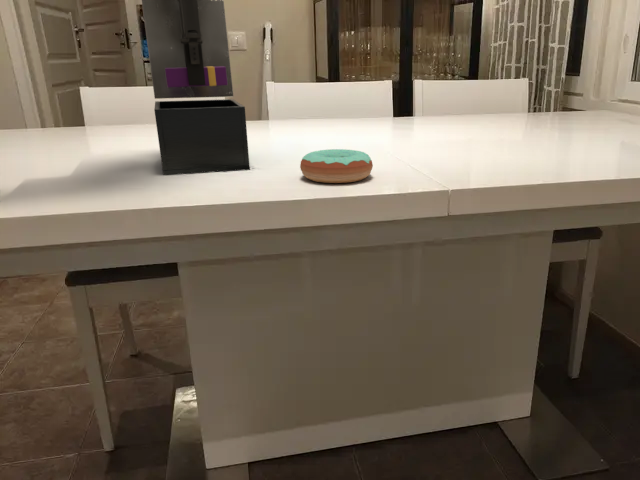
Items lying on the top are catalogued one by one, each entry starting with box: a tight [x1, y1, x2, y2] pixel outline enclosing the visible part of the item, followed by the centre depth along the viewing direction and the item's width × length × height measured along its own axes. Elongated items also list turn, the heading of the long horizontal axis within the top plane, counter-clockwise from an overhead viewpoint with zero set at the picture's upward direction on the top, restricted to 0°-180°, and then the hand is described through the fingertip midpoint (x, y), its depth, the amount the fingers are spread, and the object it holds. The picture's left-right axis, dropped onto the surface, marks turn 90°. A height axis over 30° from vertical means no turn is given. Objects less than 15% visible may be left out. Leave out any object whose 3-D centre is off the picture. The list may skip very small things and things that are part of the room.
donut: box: [299, 148, 374, 184], centre depth 92 cm, size 12×12×4 cm
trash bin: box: [153, 98, 251, 176], centre depth 102 cm, size 17×15×11 cm
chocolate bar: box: [165, 66, 228, 87], centre depth 97 cm, size 10×4×3 cm, turn 109°
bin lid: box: [141, 0, 234, 100], centre depth 108 cm, size 18×15×6 cm
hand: (196, 83), depth 97 cm, fingers closed on chocolate bar, 4 cm apart
